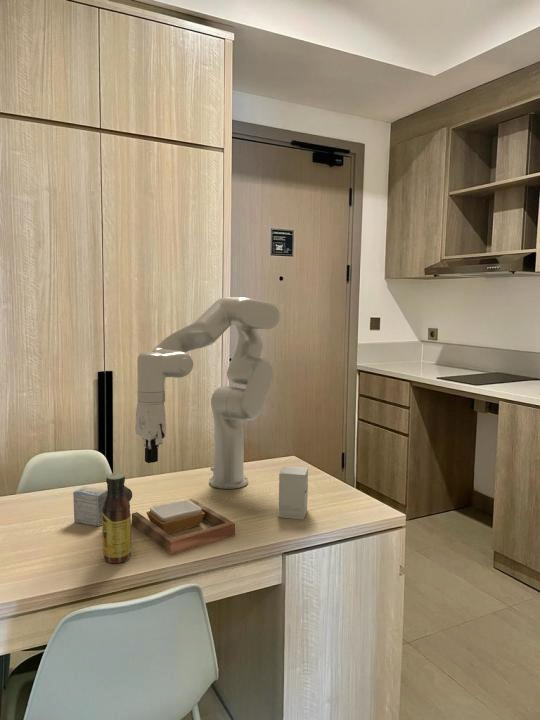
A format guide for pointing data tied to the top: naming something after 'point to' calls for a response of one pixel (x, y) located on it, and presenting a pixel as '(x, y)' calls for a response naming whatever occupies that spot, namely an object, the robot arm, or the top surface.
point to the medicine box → (89, 505)
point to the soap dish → (176, 515)
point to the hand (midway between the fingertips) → (151, 461)
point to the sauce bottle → (116, 521)
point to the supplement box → (293, 492)
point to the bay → (188, 541)
